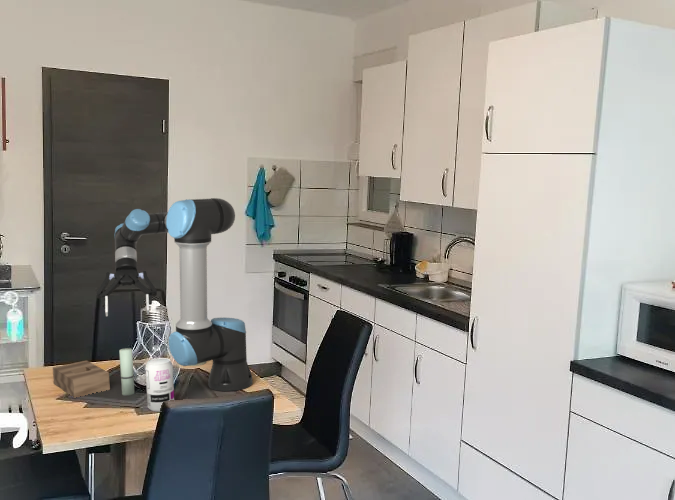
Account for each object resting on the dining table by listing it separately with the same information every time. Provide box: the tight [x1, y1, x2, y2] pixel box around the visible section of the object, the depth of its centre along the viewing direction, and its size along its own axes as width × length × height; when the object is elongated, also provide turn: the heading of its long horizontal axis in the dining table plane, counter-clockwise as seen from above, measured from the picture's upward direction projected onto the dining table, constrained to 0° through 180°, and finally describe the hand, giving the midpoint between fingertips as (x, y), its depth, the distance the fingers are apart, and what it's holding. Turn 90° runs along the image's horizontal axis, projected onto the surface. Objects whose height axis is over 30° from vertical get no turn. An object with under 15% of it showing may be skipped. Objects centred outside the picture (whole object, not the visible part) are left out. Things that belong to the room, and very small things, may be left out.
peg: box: [119, 347, 135, 396], centre depth 226 cm, size 4×4×15 cm
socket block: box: [52, 360, 111, 399], centre depth 235 cm, size 20×12×6 cm, turn 41°
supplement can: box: [145, 357, 175, 412], centre depth 213 cm, size 8×8×15 cm
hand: (127, 313), depth 234 cm, fingers open, 13 cm apart
